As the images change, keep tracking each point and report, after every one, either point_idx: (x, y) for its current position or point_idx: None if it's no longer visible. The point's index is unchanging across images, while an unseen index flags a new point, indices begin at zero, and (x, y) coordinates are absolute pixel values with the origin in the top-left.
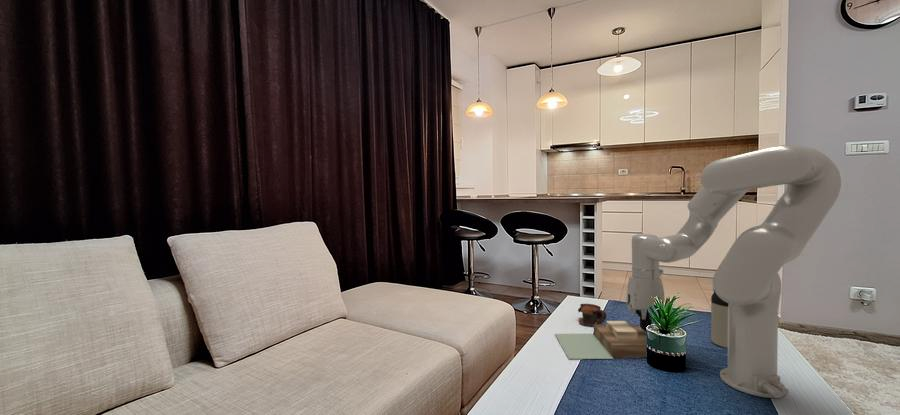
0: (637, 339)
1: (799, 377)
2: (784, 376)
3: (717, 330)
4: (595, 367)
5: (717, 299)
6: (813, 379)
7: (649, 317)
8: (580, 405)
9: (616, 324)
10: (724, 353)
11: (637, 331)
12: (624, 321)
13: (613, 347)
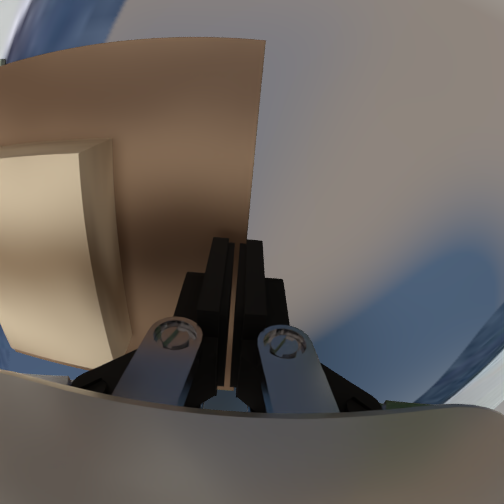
0: (131, 335)
1: (490, 402)
2: (473, 404)
3: None
4: (4, 348)
5: None
6: (498, 403)
7: (248, 403)
8: None
9: (3, 243)
10: (497, 311)
11: (187, 215)
12: (70, 173)
13: None
